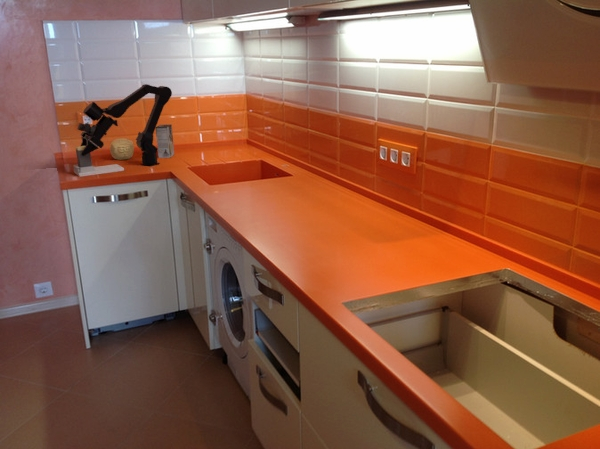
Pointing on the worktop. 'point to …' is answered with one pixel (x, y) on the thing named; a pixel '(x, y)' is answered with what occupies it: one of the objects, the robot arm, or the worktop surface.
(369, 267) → the worktop surface
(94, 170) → the notch board
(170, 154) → the coffee box
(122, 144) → the sculpture
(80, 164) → the grey tall block
